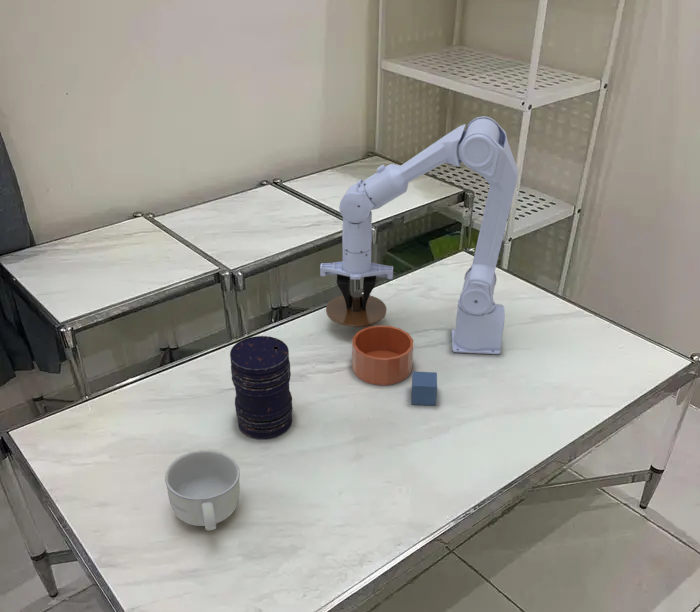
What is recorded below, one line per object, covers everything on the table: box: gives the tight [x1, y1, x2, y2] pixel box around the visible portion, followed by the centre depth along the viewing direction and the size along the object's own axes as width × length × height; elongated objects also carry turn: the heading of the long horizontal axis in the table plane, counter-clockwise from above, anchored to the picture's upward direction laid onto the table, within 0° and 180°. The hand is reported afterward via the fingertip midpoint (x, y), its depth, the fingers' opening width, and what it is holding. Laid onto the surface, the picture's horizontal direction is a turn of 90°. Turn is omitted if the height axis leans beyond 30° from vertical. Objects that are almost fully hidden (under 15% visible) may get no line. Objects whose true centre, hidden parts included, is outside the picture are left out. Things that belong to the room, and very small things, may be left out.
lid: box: [325, 290, 388, 328], centre depth 149 cm, size 13×13×4 cm
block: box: [410, 370, 438, 407], centre depth 132 cm, size 4×4×4 cm
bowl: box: [351, 324, 414, 386], centre depth 139 cm, size 12×12×6 cm
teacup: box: [164, 449, 241, 531], centre depth 107 cm, size 14×11×8 cm
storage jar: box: [229, 335, 293, 441], centre depth 123 cm, size 10×10×15 cm
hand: (356, 306), depth 149 cm, fingers closed on lid, 2 cm apart
